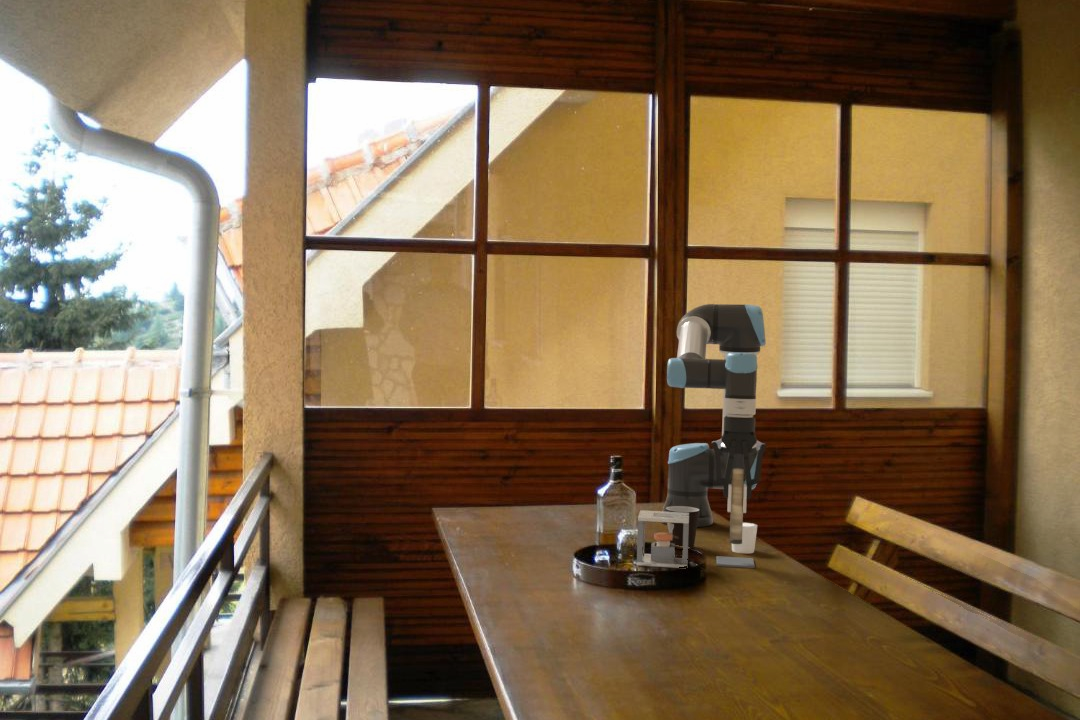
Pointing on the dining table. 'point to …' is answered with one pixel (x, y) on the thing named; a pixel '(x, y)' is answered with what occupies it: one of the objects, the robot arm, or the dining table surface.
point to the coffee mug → (677, 528)
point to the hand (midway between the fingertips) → (736, 511)
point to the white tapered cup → (746, 539)
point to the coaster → (735, 562)
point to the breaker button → (663, 539)
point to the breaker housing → (659, 553)
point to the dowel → (736, 506)
